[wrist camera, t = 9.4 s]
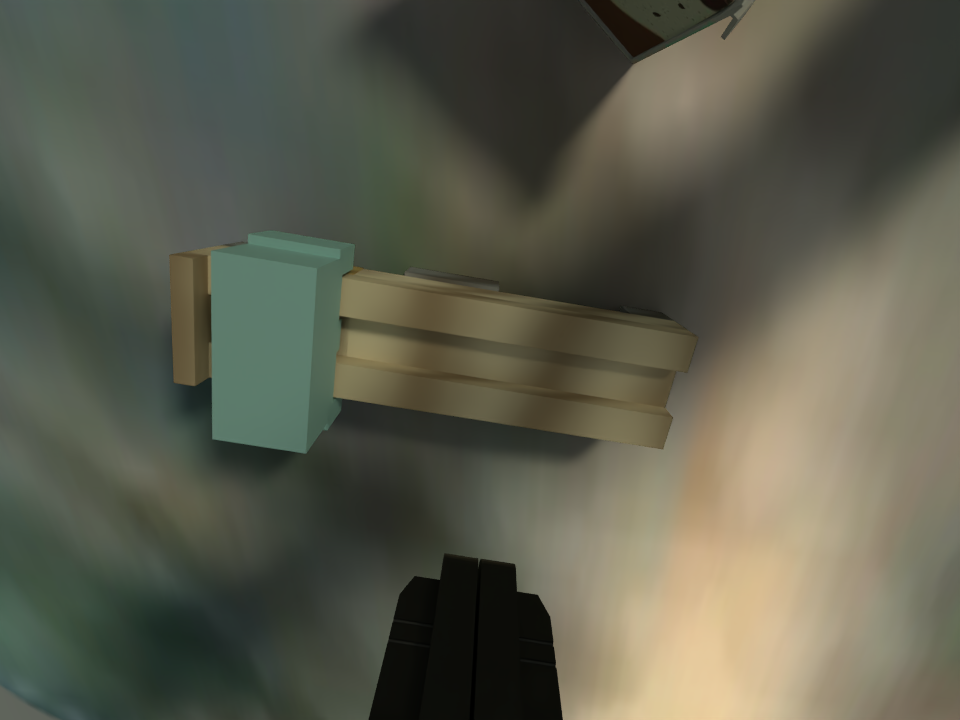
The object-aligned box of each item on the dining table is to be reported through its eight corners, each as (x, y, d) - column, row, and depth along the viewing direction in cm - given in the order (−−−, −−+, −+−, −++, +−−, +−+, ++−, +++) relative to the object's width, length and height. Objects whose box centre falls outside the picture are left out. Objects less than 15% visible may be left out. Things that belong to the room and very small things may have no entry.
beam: (663, 309, 28) (710, 340, 22) (633, 410, 30) (670, 464, 24) (240, 238, 27) (169, 250, 21) (239, 347, 29) (173, 386, 23)
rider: (354, 244, 24) (317, 257, 19) (341, 410, 26) (305, 461, 21) (271, 230, 24) (210, 239, 18) (266, 398, 26) (212, 447, 21)
